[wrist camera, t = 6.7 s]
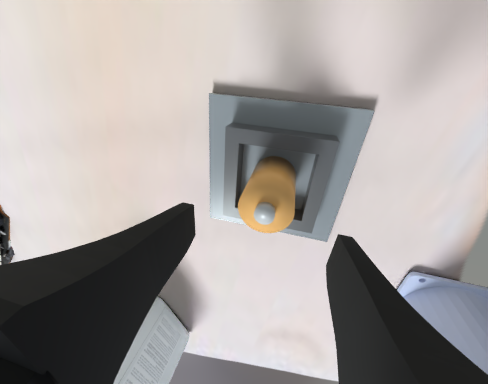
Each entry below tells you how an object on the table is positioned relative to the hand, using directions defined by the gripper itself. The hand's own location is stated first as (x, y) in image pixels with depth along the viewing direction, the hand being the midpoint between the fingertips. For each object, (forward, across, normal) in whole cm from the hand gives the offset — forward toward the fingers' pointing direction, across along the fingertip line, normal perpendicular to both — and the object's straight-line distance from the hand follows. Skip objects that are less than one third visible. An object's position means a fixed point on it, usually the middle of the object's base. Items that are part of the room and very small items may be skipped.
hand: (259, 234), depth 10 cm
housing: (+8, 0, 0) cm, 8 cm away
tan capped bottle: (+7, 0, 0) cm, 7 cm away
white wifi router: (+8, +13, +27) cm, 31 cm away
